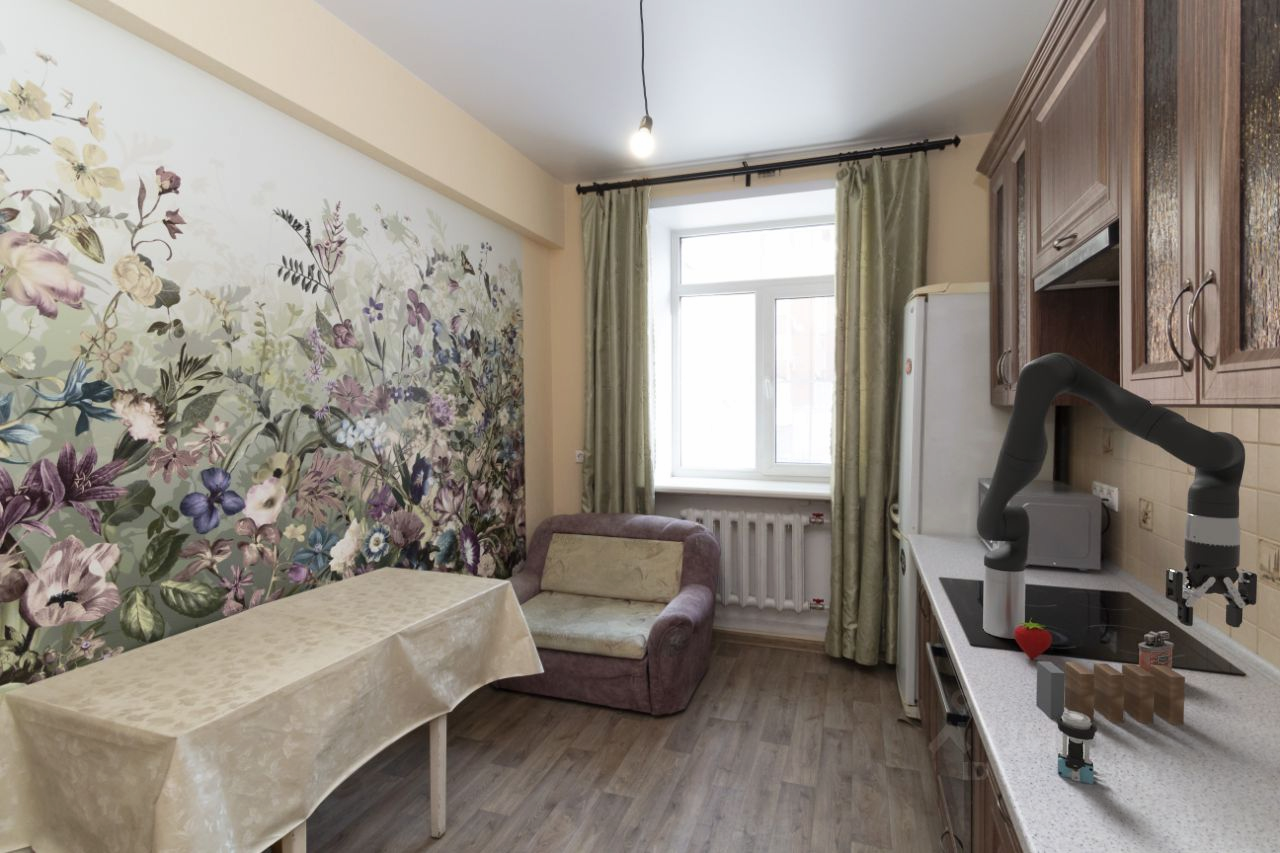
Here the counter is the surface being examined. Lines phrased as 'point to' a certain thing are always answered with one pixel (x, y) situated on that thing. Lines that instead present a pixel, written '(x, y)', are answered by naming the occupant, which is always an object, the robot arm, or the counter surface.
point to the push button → (1076, 747)
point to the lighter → (1155, 651)
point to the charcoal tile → (1050, 689)
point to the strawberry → (1032, 639)
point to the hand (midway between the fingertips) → (1209, 625)
